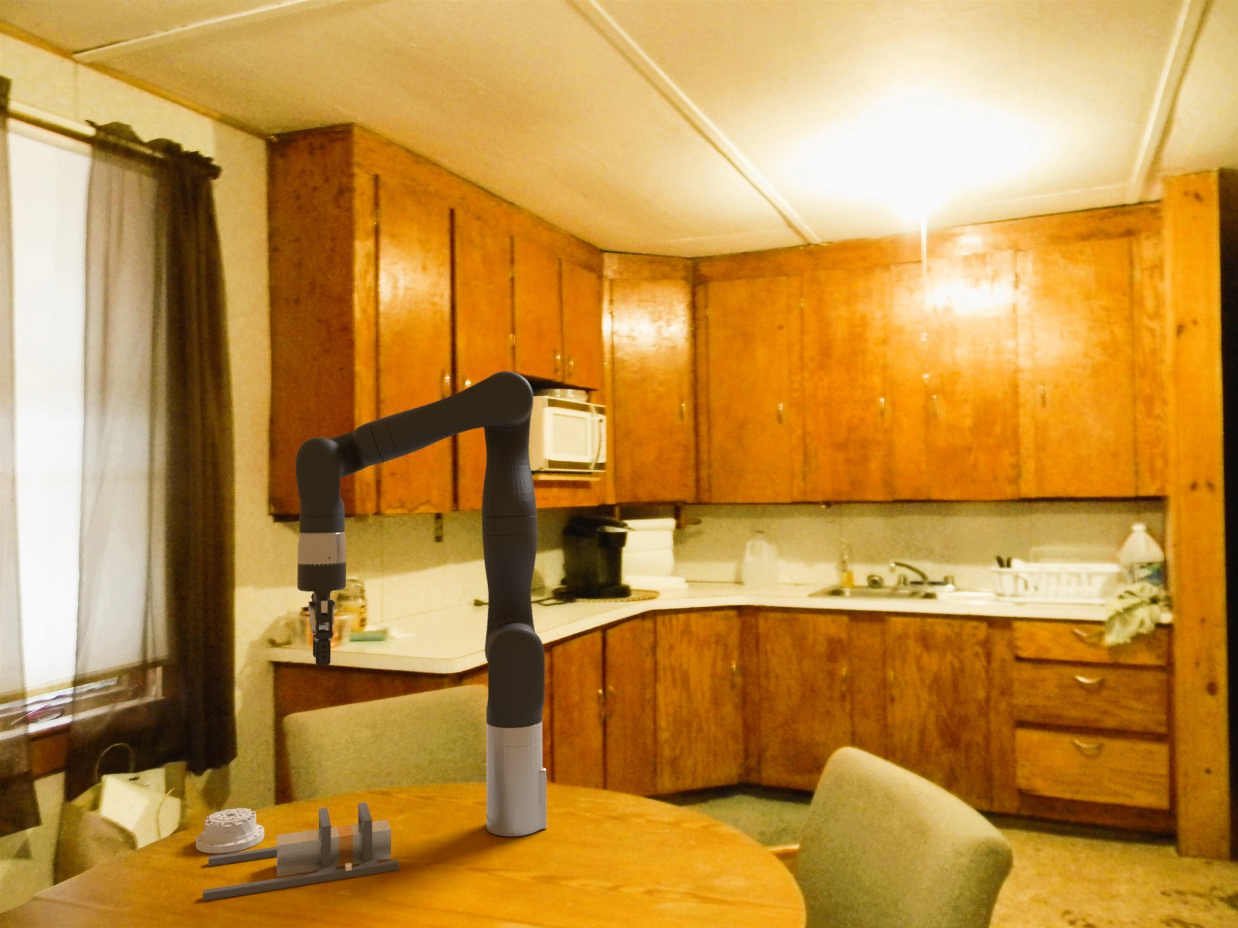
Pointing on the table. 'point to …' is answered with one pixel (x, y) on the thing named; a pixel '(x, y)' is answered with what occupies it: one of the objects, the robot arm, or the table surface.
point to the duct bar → (346, 847)
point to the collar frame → (322, 875)
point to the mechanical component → (230, 831)
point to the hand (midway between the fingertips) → (321, 660)
